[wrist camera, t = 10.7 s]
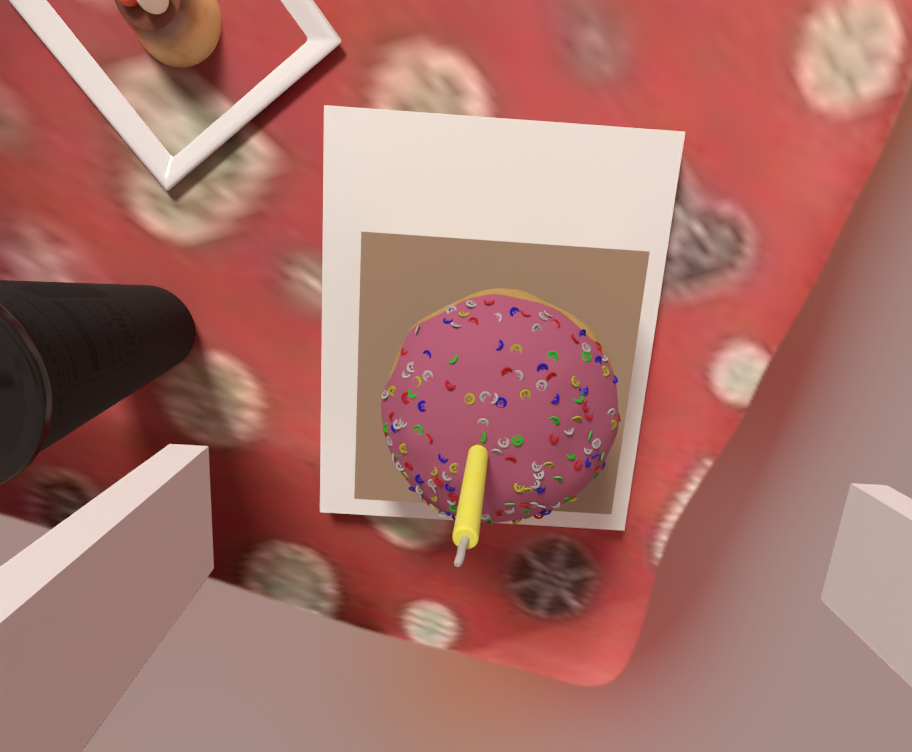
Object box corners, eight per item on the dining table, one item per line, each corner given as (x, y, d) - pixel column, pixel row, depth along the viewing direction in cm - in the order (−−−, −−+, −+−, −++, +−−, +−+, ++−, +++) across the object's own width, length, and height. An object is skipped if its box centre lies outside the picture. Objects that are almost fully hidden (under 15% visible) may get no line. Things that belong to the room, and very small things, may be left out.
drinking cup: (57, 291, 30) (-650, 369, 11) (178, 237, 30) (-347, 219, 10) (127, 412, 32) (-382, 668, 13) (242, 364, 31) (-104, 556, 12)
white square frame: (12, -6, 28) (-78, -58, 23) (187, -177, 26) (128, -269, 21) (176, 194, 30) (125, 184, 25) (346, 49, 28) (325, 10, 23)
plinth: (325, 500, 33) (289, 571, 26) (330, 112, 28) (287, 65, 21) (616, 518, 34) (661, 593, 26) (673, 137, 29) (748, 100, 21)
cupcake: (487, 505, 25) (514, 728, 14) (353, 379, 24) (255, 507, 12) (628, 379, 24) (793, 507, 12) (494, 237, 22) (537, 228, 11)
